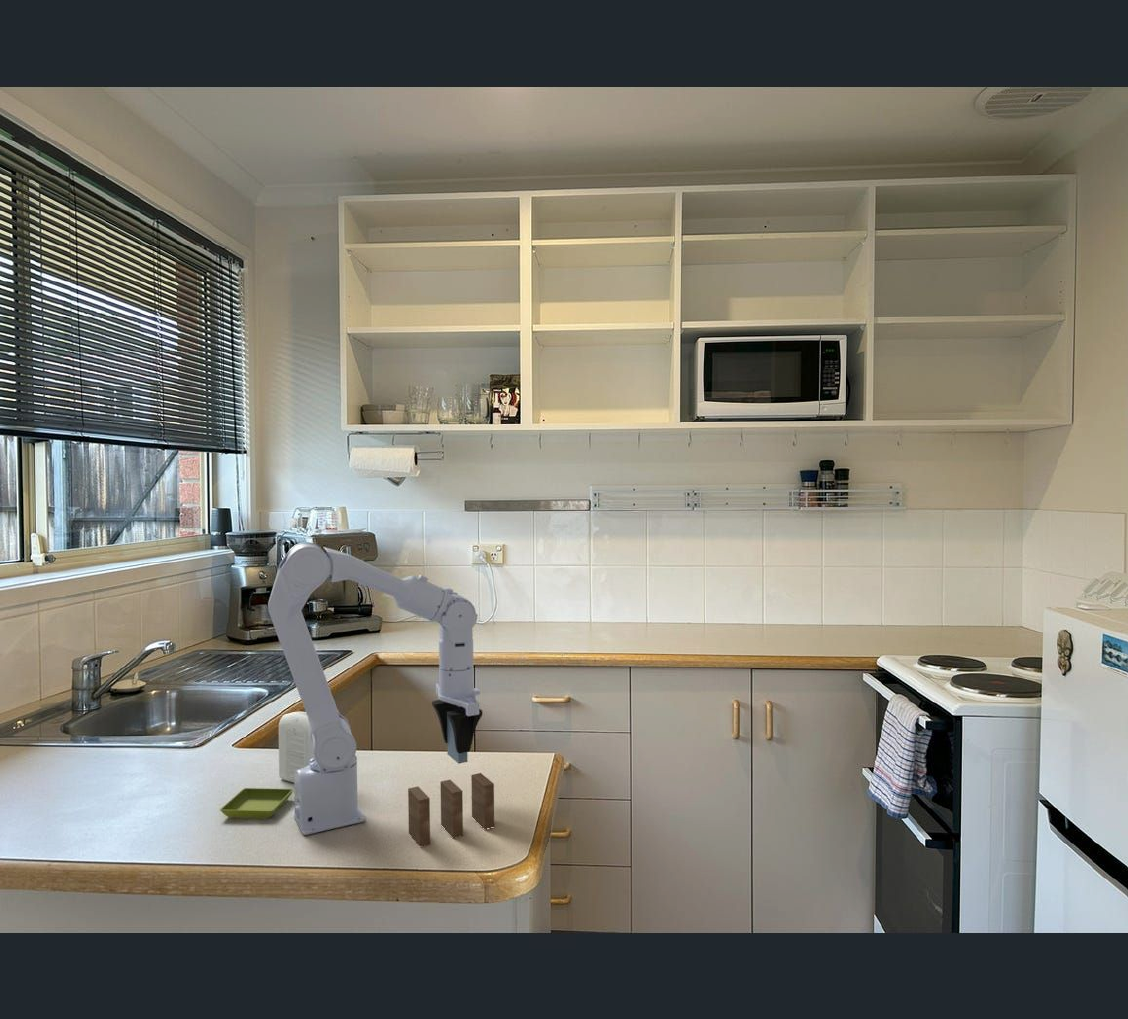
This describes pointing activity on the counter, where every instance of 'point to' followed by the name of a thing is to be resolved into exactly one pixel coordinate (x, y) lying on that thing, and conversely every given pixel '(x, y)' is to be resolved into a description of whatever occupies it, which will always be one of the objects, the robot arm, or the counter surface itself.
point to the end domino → (451, 745)
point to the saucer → (256, 802)
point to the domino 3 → (482, 800)
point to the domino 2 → (451, 808)
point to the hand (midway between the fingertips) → (457, 746)
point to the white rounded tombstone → (294, 744)
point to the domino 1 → (419, 816)
